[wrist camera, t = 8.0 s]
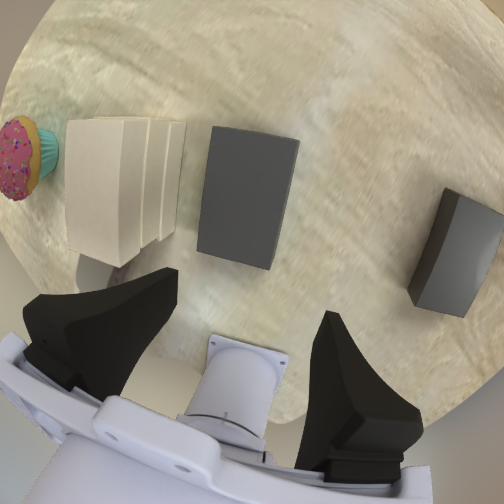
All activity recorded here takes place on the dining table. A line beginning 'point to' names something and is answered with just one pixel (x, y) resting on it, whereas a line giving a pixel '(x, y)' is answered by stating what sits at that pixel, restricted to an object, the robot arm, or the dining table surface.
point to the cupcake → (25, 157)
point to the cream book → (104, 187)
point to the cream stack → (159, 177)
